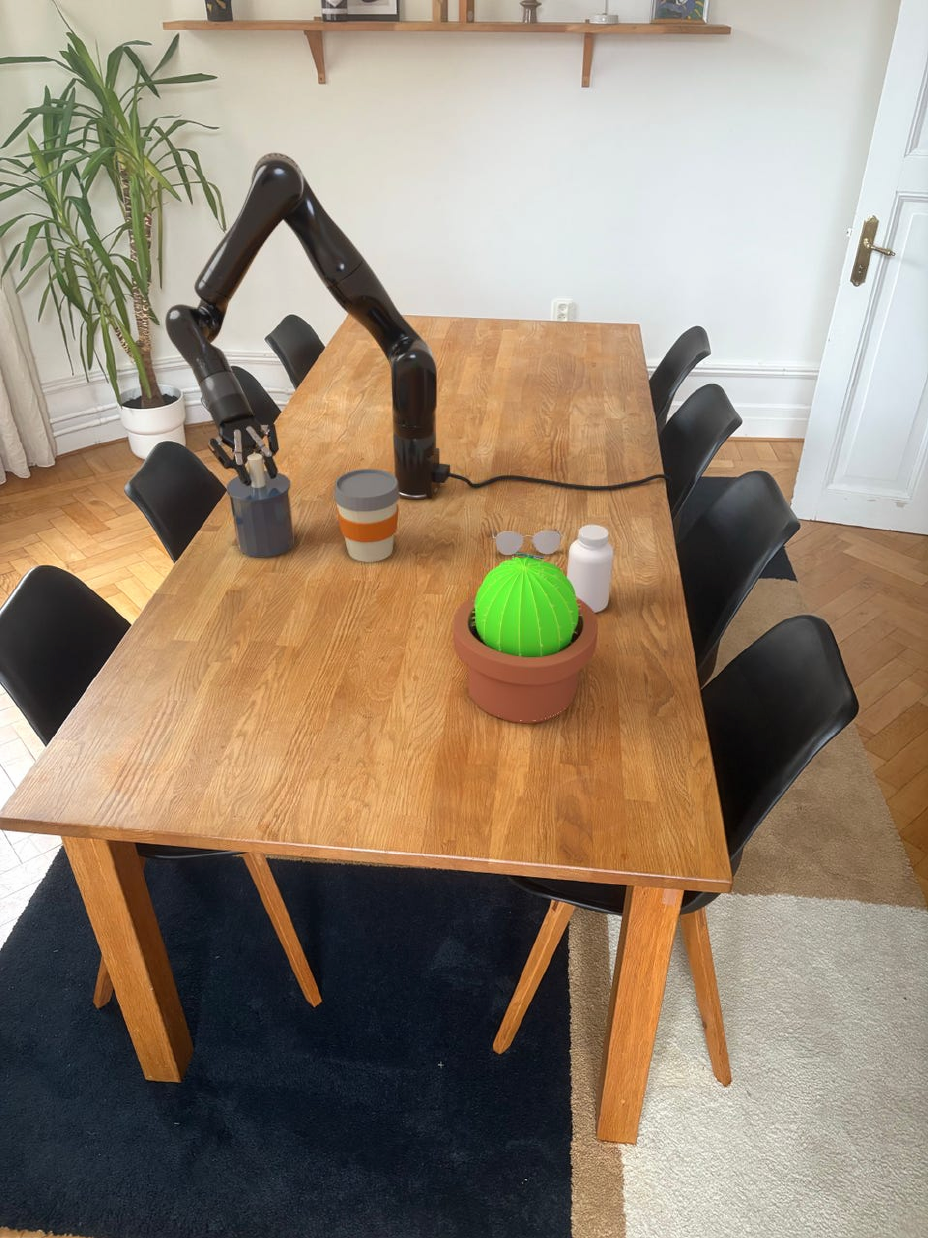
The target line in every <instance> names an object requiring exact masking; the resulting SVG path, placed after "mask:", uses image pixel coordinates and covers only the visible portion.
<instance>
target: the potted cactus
mask: <svg viewBox="0 0 928 1238" xmlns="http://www.w3.org/2000/svg"><path fill="white" fill-rule="evenodd" d="M519 556H520V557H519ZM507 559H508V560H504V561H502V562H500V563H498V566H494V568H493V569H490V571H489V572H488V573H486V571H485V570H484V574H485V575H486V576H485V577H484V579H483V581H482V584H481V585H480V586H478V587H477V586H476V588H478V589H477V592H476V593H474V594H473V595H470V596H469V597H468V598H466V599H465V601H464V602H462V603H461V604H460V606H459V607H458V609H457V610H456V612H455V614H454V616H453V620H452V621H453V622H452V645H453V648H454V652H455V653H456V655H457V656H458V658H459V659H460V660H461V661H462V662H463V663H464V664H465V665H467V691H468V694H469V697H470V698H471V699H470V700H472V702H473V703H474V704H475V705H476V706H477V707H478V708H480V709H481V711H484V712H486V714H489V715H490V716H492V717H495V718H498V719H501V720H504V721H507V722H512V723H518V724H536V723H537V724H538V723H542V722H546V721H548V720H551V719H553V718H555V717H557V716H559V715H560V714H563V712H564V711H566V710H567V709H568V707H570V705H571V704H572V702H573V700H574V699H575V696H576V693H577V689H578V679H579V672H580V671H581V670H582V669H583V668H584V667H586V665H587V664H588V663H590V661H591V659H592V658H593V656H594V654H595V651H596V648H597V641H598V631H599V621H598V617H597V615H596V613H594V612H593V610H592V609H591V608H590V607H589V606H588V605H587V604H586V603H585V602H583V601H582V600H581V599H579V598H577V597H576V594H575V590H576V589H575V590H574V588H573V586H572V584H571V582H570V581H571V580H570V581H569V579H568V578H567V575H565V574H564V571H563V570H562V568H563V567H560V568H559V567H558V566H557V563H556V561H555V560H553V561H552V563H551V562H547V561H545V560H546V558H545V557H543V556H539V555H534V554H528V553H520V552H516V553H513V554H512V558H510V557H507ZM554 562H555V563H554ZM572 580H573V579H572ZM573 581H574V580H573ZM572 583H573V582H572ZM564 708H565V709H564ZM560 711H561V712H560ZM558 712H559V713H558ZM557 713H558V714H557ZM555 714H556V715H555ZM498 715H499V716H498ZM553 715H554V716H553ZM550 716H551V717H550ZM548 717H549V718H548ZM545 718H546V719H545ZM541 719H542V720H541ZM520 720H522V721H520ZM533 720H536V721H533Z"/></svg>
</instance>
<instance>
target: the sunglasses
mask: <svg viewBox="0 0 928 1238" xmlns="http://www.w3.org/2000/svg"><path fill="white" fill-rule="evenodd" d="M491 532H492V539H495V546H496V549H497V550H498V552H499V553H500V554H502V555H504V556H513V555H514V554H513V553H518V551H520V549H521V548H522V547H523V545H524V543H525V540H524V538H525V537H531V538H532V539H531V540H530V542H531V544H532V546H533V547H534V548H535V550H537V551H538V552H539V553H541V554H543V555H552V554H553V553H555V552H556V551H557V550H558V549H559V546H560V544H561V538H563V537H564V535H563V534H562V532H561V531H560V529H559V528H558V527H556V528H555V529H554V530H541V531H538V532H536V533H535V534H534V535H529V534H527V535H526V534H525V535H524V536H523V535H522V534H521V533H520V532H517V531H514V530H513V531H509V530H508V531H507V530H505V531H501V532H499V533H498V534H497V535H496V536H495V535H494V530H493V528H491Z"/></svg>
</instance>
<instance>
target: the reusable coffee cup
mask: <svg viewBox="0 0 928 1238" xmlns="http://www.w3.org/2000/svg"><path fill="white" fill-rule="evenodd" d="M333 499H334V502H335V503H336V506H337V508H336V514H337V515H336V516H337V520H338V523H339V528H340V532H341V534H342V535H343V537H344V540H345V545H346V549H347V553H348V556H349V557H351V558H352V559H353V560H355V561H359V562H363V563H372V562H373V563H374V562H379V561H382V560H385V559H386V558H388V557H390V556H391V554H392V553H393V549H394V539H395V533H396V532H397V529H398V519H399V511H400V509H399V507H400V506H399V505H398V500H399V499H400V496H399V488H398V481H397V479H396V477H395V474H392V473H391V472H388V471H387V470H382V469H377V468H360V469H354V470H351V471H350V470H349V471H347V472H345V473H343V474H341V475H340V476H338V477H337V478H336V479H335V481H334V491H333Z"/></svg>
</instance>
